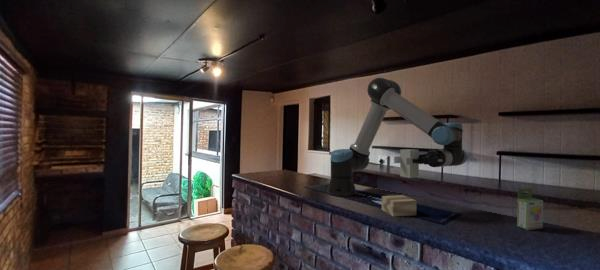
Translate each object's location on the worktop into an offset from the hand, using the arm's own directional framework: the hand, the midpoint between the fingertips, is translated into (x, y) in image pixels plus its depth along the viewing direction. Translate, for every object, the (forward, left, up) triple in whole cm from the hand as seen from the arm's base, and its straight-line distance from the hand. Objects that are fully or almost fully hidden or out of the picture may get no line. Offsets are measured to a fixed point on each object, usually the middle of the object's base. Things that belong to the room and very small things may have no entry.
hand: (400, 160), depth 115 cm
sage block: (0, +5, -7) cm, 9 cm away
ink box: (+32, +28, -22) cm, 48 cm away
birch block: (-3, +2, -22) cm, 22 cm away
